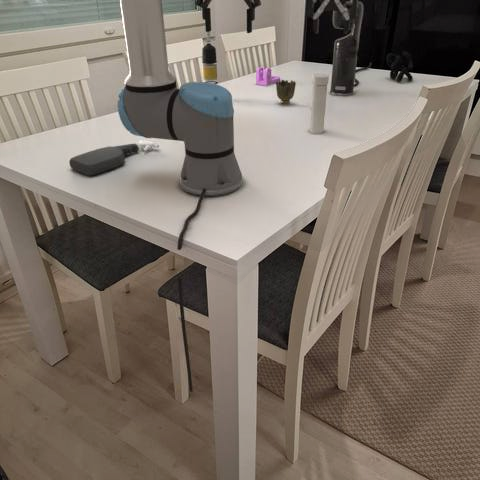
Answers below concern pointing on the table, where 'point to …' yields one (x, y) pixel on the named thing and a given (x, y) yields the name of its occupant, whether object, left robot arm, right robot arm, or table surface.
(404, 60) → the squiggle
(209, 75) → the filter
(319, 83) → the lid
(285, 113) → the table surface
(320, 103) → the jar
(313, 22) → the right robot arm
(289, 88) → the cup
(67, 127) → the table surface
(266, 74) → the bracket
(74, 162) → the spray bottle
